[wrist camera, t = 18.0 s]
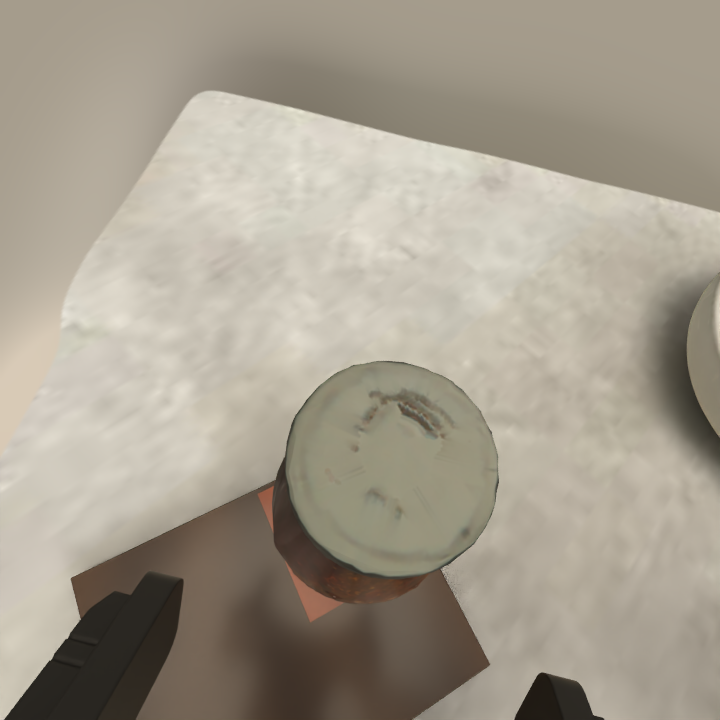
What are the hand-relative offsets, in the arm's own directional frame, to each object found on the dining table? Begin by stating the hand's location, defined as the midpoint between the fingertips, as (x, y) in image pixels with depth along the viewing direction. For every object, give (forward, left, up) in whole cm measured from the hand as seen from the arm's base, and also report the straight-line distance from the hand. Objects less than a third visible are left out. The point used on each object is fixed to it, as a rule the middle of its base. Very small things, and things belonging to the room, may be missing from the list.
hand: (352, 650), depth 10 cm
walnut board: (+2, 0, -18) cm, 18 cm away
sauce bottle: (-3, -3, -16) cm, 17 cm away
